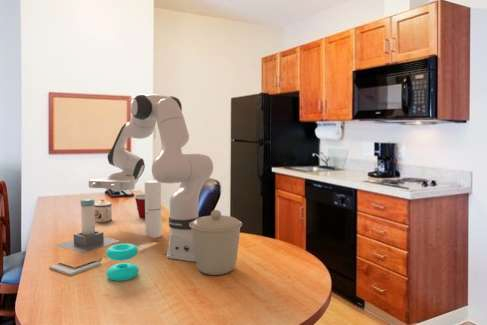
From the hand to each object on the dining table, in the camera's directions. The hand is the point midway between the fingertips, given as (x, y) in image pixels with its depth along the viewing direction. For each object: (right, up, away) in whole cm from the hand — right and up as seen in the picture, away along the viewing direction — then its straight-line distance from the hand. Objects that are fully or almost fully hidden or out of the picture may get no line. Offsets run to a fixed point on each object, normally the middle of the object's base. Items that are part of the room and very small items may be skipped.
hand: (102, 186), depth 164 cm
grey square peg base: (-2, -24, -10) cm, 26 cm away
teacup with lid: (-12, -21, +33) cm, 41 cm away
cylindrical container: (+21, -23, +6) cm, 32 cm away
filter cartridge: (-2, -23, -10) cm, 25 cm away
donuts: (+22, -27, -41) cm, 54 cm away
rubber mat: (+3, -26, -33) cm, 42 cm away
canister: (+53, -27, -35) cm, 69 cm away
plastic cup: (+7, -20, +43) cm, 48 cm away
